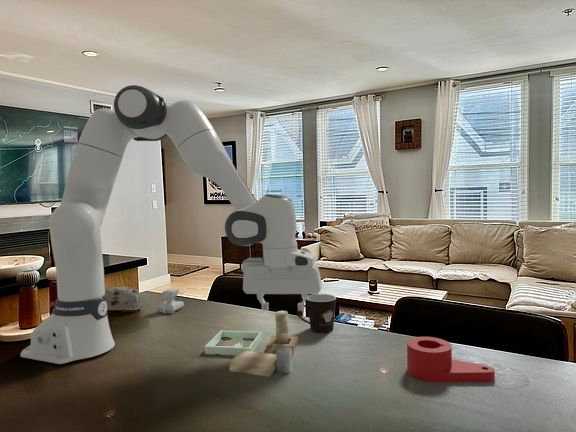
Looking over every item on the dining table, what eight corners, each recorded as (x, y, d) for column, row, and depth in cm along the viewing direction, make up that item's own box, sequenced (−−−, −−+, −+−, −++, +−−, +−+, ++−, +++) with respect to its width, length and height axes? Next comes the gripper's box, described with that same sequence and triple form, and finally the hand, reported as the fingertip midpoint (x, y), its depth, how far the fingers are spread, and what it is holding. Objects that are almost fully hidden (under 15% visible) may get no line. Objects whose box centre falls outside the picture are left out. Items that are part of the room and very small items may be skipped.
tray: (205, 355, 107) (204, 346, 106) (221, 339, 118) (221, 330, 118) (250, 358, 104) (250, 348, 104) (262, 340, 116) (262, 331, 116)
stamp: (169, 309, 149) (168, 286, 149) (186, 310, 147) (185, 287, 147) (155, 317, 141) (153, 292, 140) (172, 318, 139) (171, 293, 138)
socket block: (266, 355, 106) (266, 345, 106) (272, 344, 113) (272, 335, 113) (293, 356, 105) (293, 346, 105) (298, 345, 112) (298, 336, 111)
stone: (98, 312, 144) (103, 284, 144) (109, 308, 150) (114, 281, 149) (131, 322, 141) (137, 293, 141) (141, 318, 147) (146, 290, 146)
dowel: (275, 352, 108) (274, 314, 107) (278, 347, 111) (276, 310, 110) (287, 353, 107) (286, 314, 106) (290, 348, 110) (288, 311, 109)
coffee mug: (334, 326, 127) (333, 293, 126) (338, 336, 118) (338, 301, 117) (296, 327, 126) (295, 294, 126) (297, 337, 118) (296, 302, 117)
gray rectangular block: (277, 373, 95) (276, 352, 95) (279, 367, 98) (279, 347, 98) (289, 374, 95) (289, 352, 94) (292, 368, 98) (291, 347, 97)
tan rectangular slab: (229, 374, 97) (229, 361, 96) (243, 362, 103) (242, 350, 103) (269, 380, 93) (269, 366, 93) (281, 367, 100) (280, 354, 99)
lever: (406, 380, 90) (406, 350, 90) (407, 362, 99) (407, 335, 99) (498, 389, 85) (498, 358, 85) (490, 370, 94) (490, 341, 94)
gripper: (238, 260, 106) (240, 313, 107) (318, 259, 102) (320, 314, 103) (245, 255, 113) (247, 306, 114) (321, 254, 109) (323, 307, 110)
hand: (283, 310), depth 108 cm, fingers open, 8 cm apart
